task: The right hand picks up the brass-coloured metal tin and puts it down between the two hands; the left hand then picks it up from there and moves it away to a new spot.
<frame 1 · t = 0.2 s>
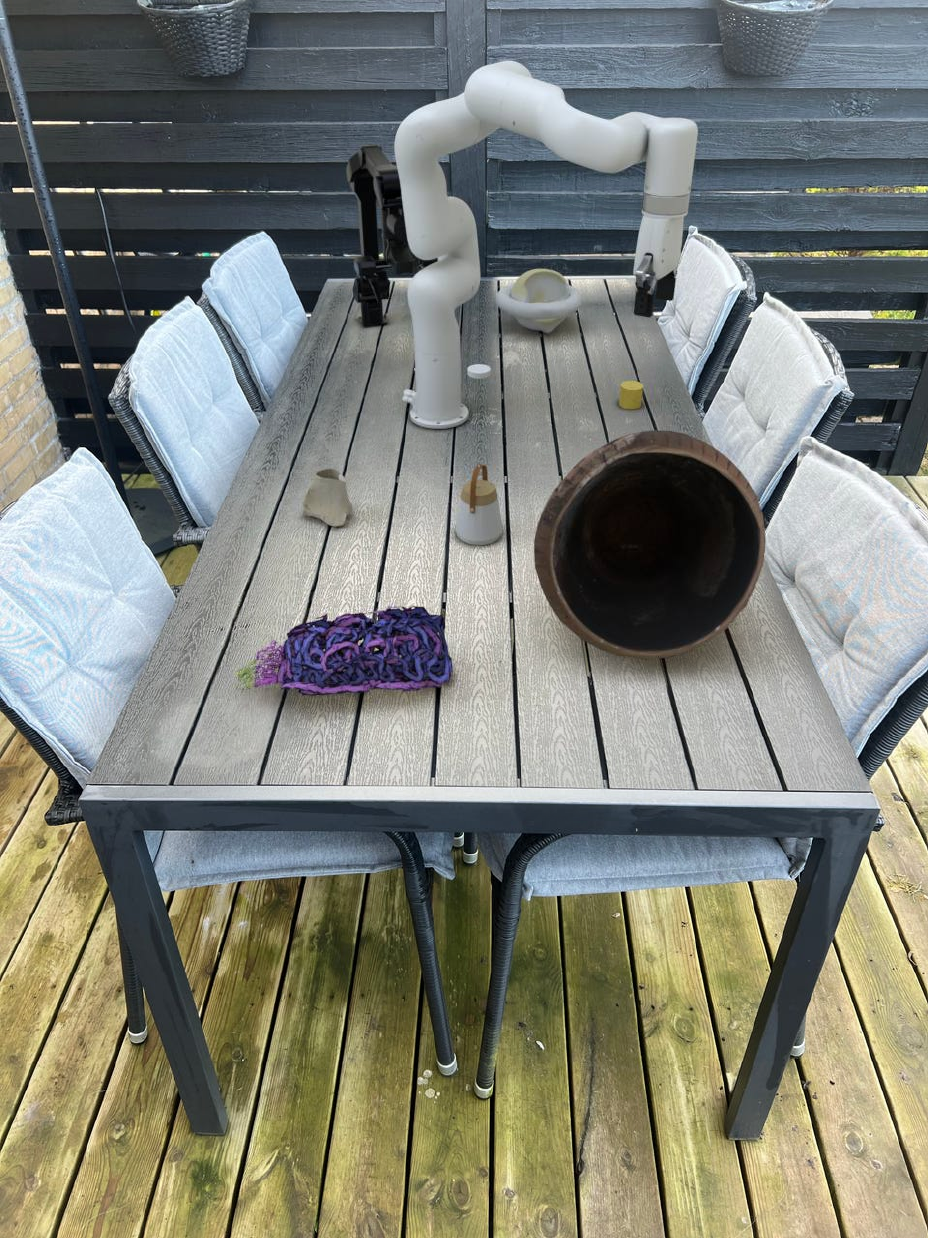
left hand: (398, 300, 216), 14 cm above the table, tool pointing down, fingers open, 9 cm apart
right hand: (653, 307, 163), 31 cm above the table, tool pointing down, fingers open, 9 cm apart
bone: (327, 519, 167), on the table
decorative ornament: (347, 685, 131), on the table
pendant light: (478, 533, 163), on the table
tin: (629, 404, 204), on the table
pot: (635, 608, 145), on the table
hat: (537, 329, 241), on the table
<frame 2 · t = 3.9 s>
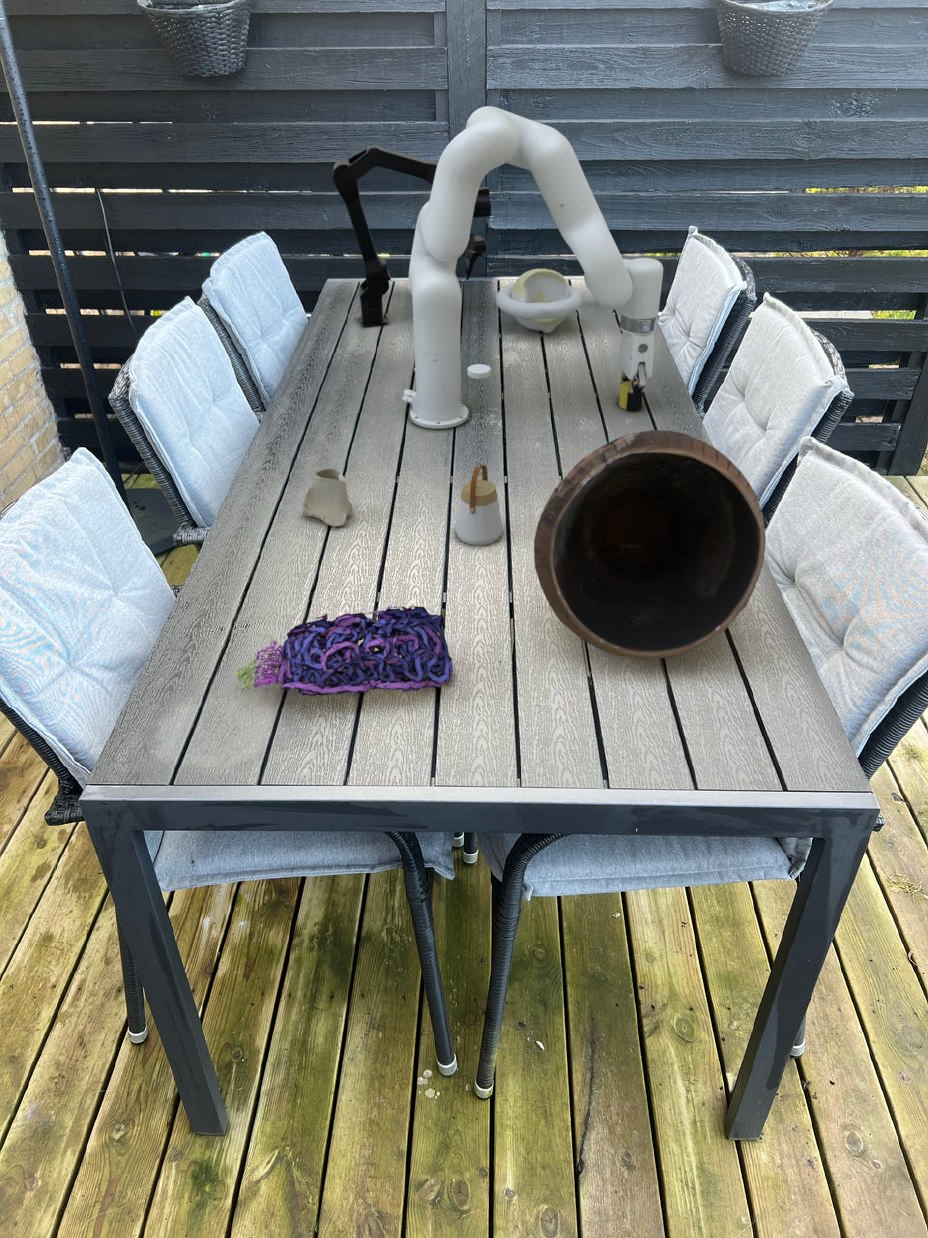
left hand: (450, 281, 242), 10 cm above the table, tool pointing down, fingers open, 9 cm apart
right hand: (630, 403, 204), 0 cm above the table, tool pointing down, fingers closed on tin, 4 cm apart
tin: (629, 404, 204), on the table, touching right hand
everything else where it was.
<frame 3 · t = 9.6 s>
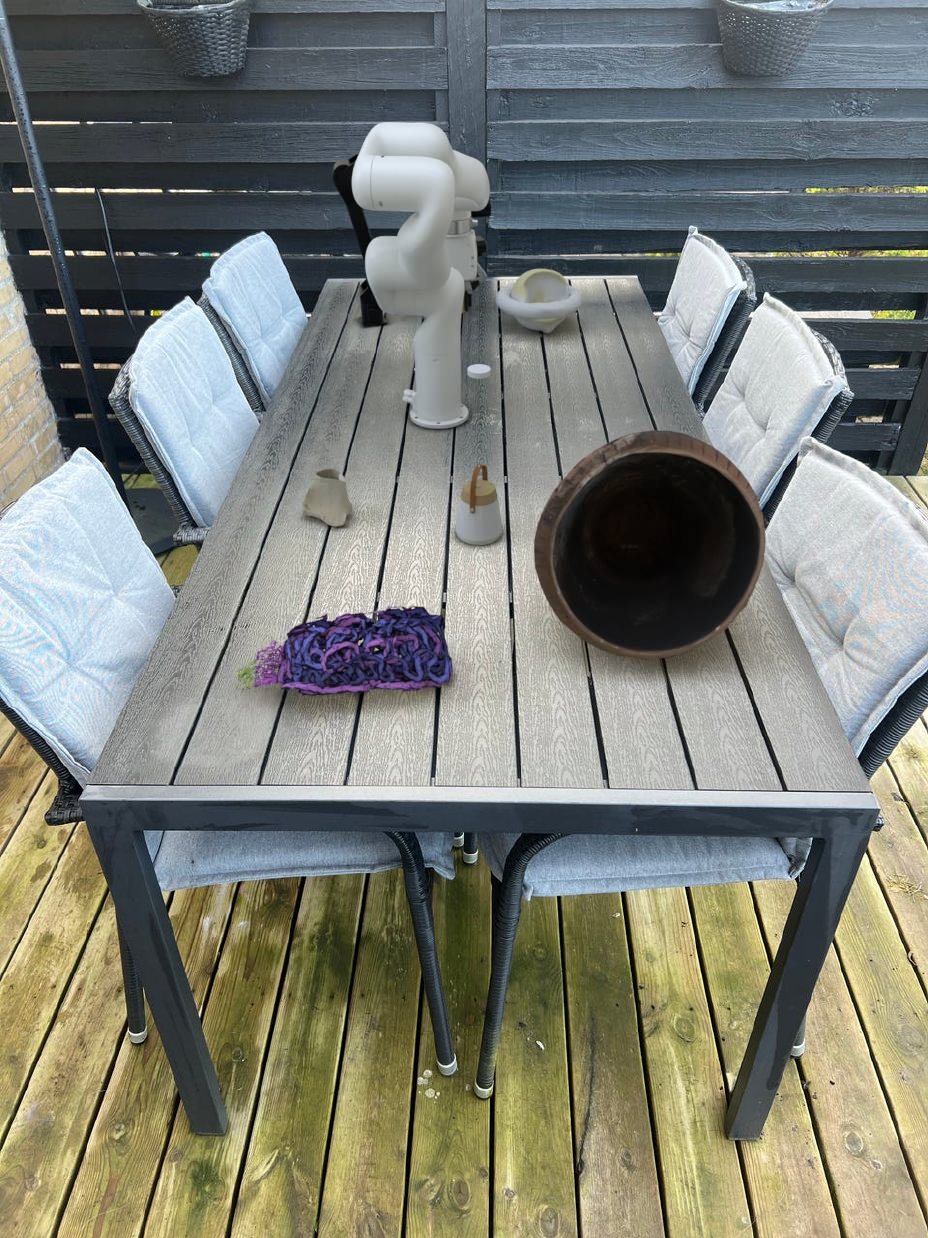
left hand: (450, 281, 242), 10 cm above the table, tool pointing down, fingers open, 9 cm apart
right hand: (454, 308, 210), 15 cm above the table, tool pointing down, fingers closed on tin, 4 cm apart
tin: (455, 310, 211), point 15 cm above the table, touching right hand
everything else where it was.
when the right hand's fingers open (1 cm above the table, at t = 15.2 s): tin stays where it is, on the table.
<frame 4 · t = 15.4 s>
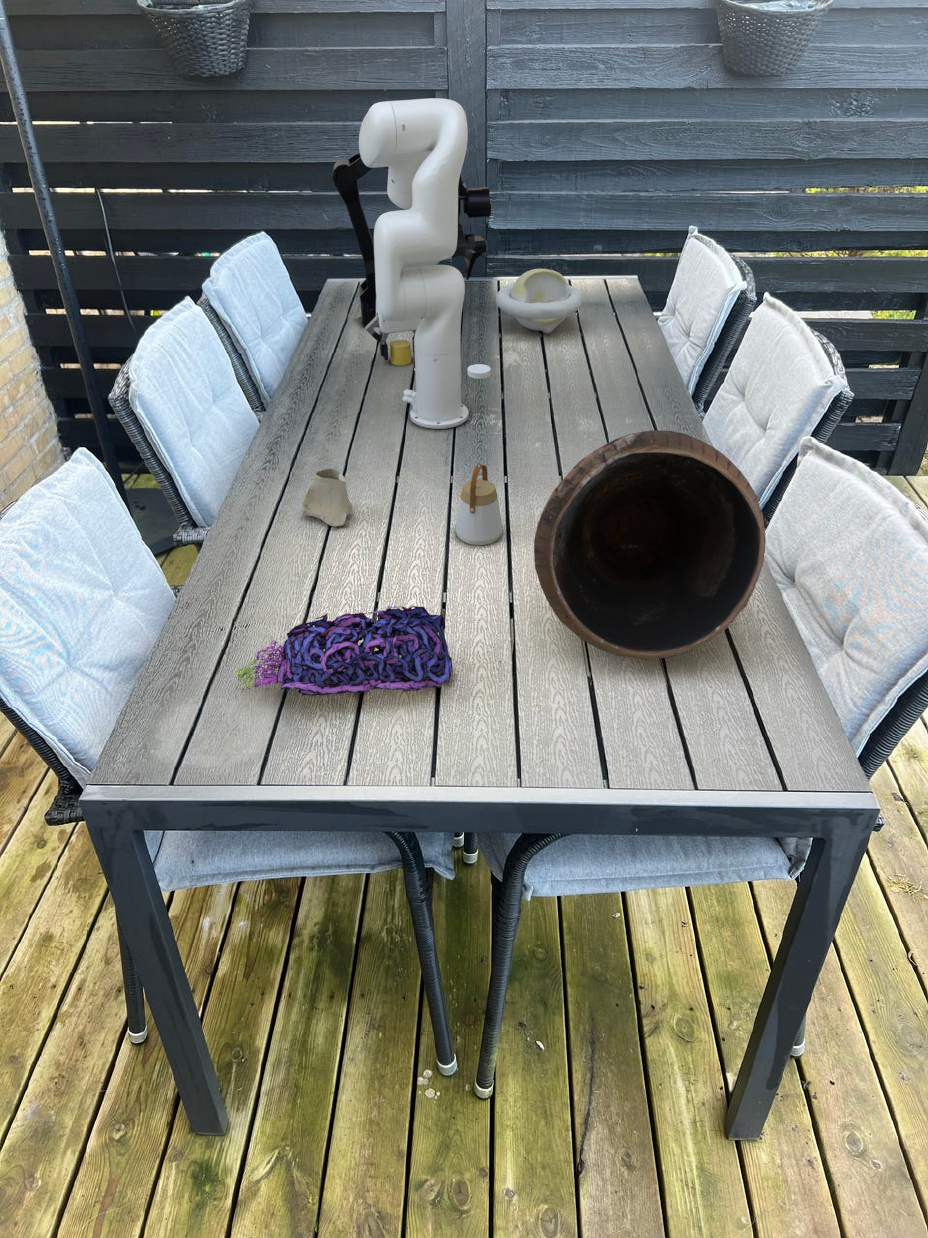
left hand: (450, 281, 242), 10 cm above the table, tool pointing down, fingers open, 9 cm apart
right hand: (400, 355, 224), 1 cm above the table, tool pointing down, fingers open, 7 cm apart
tin: (401, 361, 225), on the table
everything else where it was.
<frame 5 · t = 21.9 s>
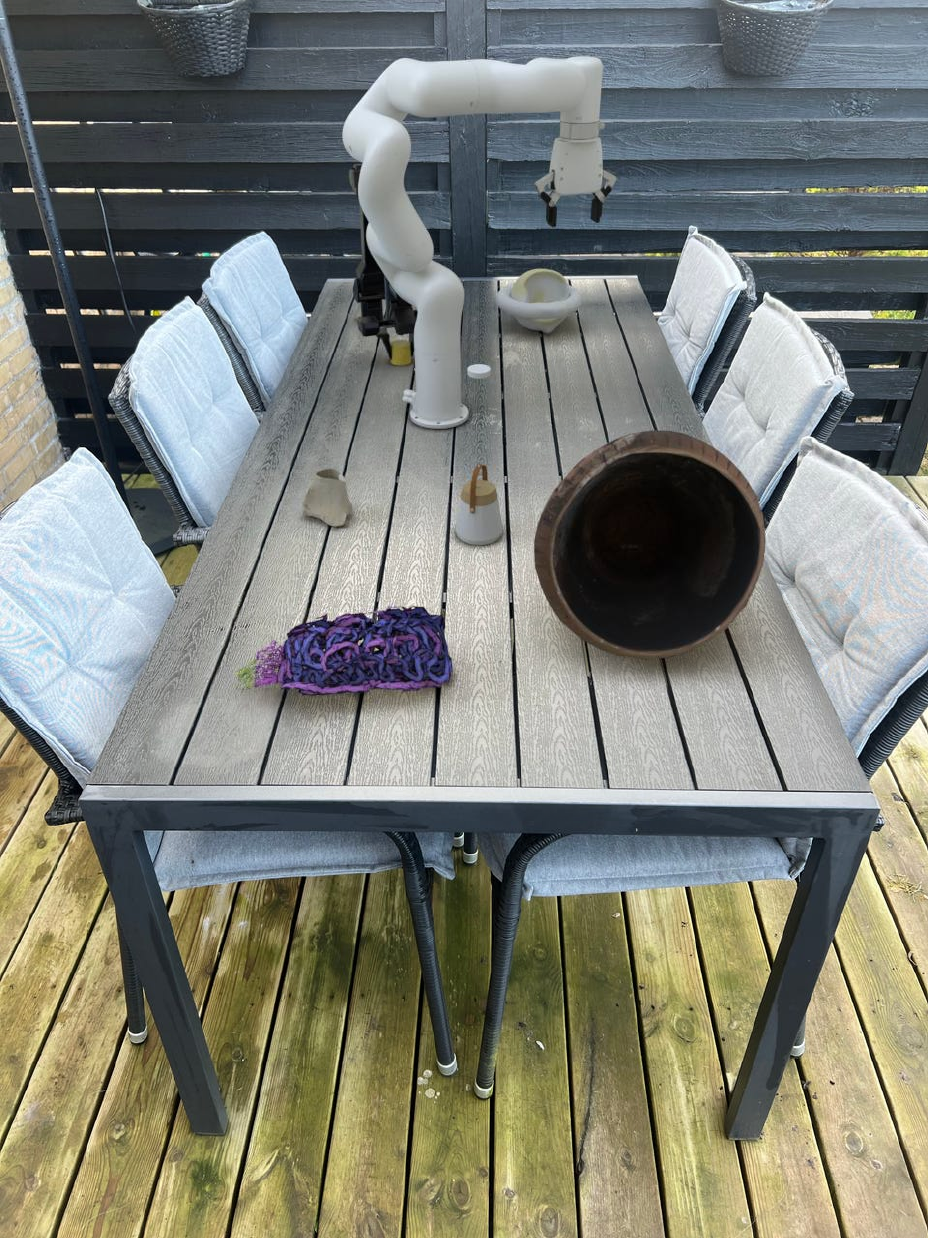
left hand: (400, 357, 224), 1 cm above the table, tool pointing down, fingers closed on tin, 5 cm apart
right hand: (573, 223, 191), 35 cm above the table, tool pointing down, fingers open, 9 cm apart
tin: (401, 361, 225), on the table, touching left hand
everything else where it was.
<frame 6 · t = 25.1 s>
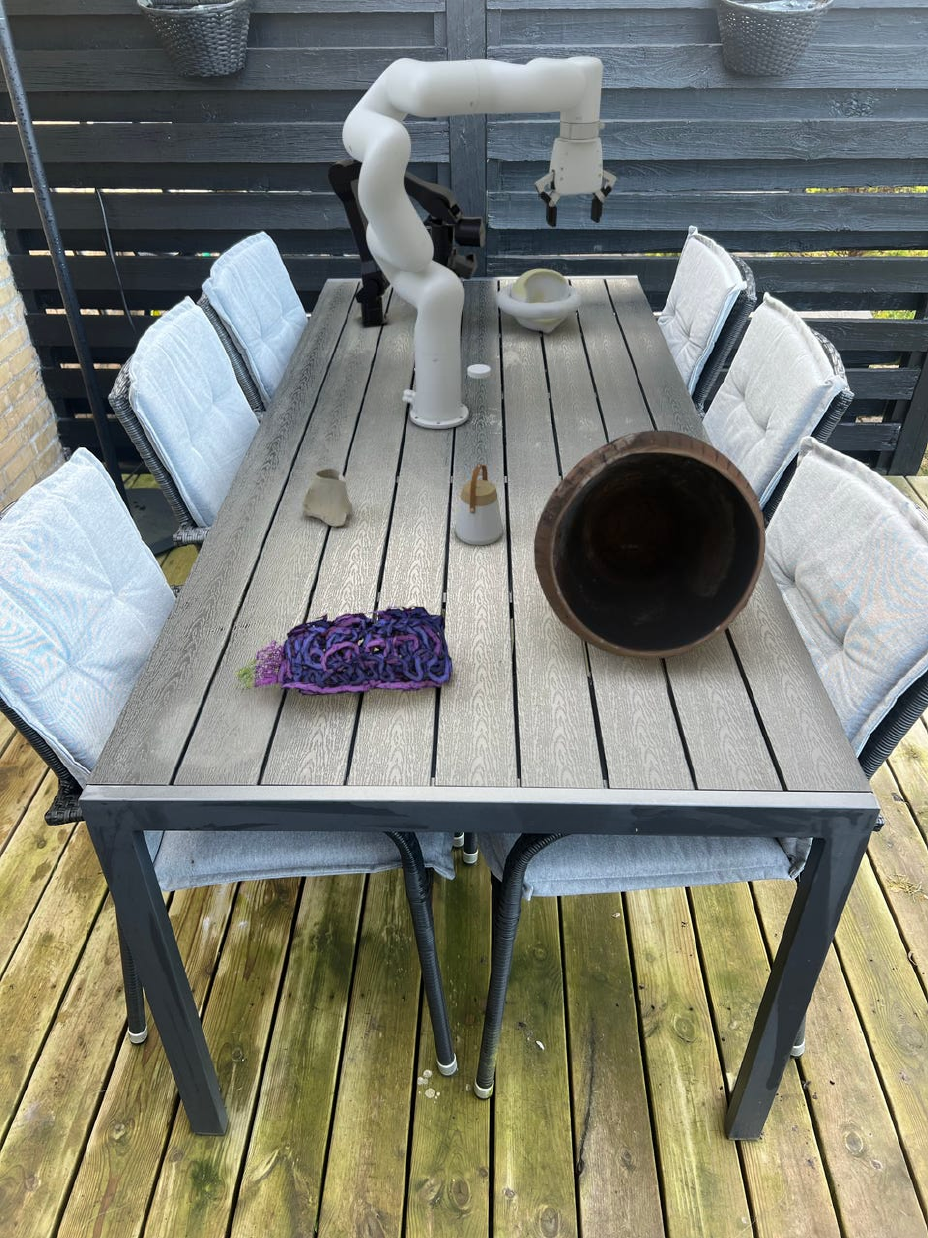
left hand: (444, 307, 239), 5 cm above the table, tool pointing down, fingers closed on tin, 5 cm apart
right hand: (573, 223, 191), 35 cm above the table, tool pointing down, fingers open, 9 cm apart
tin: (444, 311, 240), point 4 cm above the table, touching left hand
everything else where it was.
when the left hand's fingers open (2 cm above the table, at t = 28.6 s): tin stays where it is, on the table.
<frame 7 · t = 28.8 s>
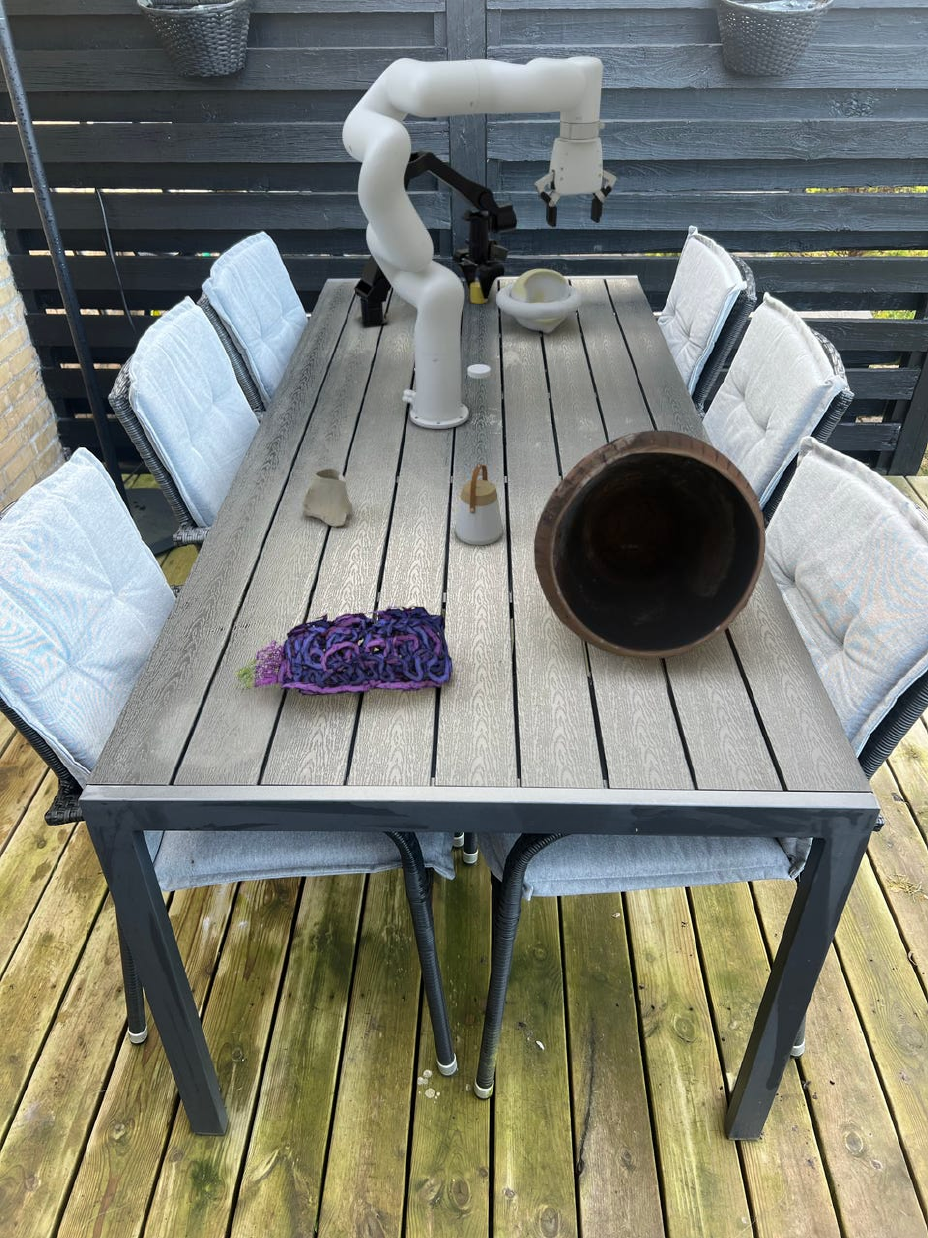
left hand: (478, 294, 258), 2 cm above the table, tool pointing down, fingers open, 7 cm apart
right hand: (573, 223, 191), 35 cm above the table, tool pointing down, fingers open, 9 cm apart
tin: (479, 300, 259), on the table
everything else where it was.
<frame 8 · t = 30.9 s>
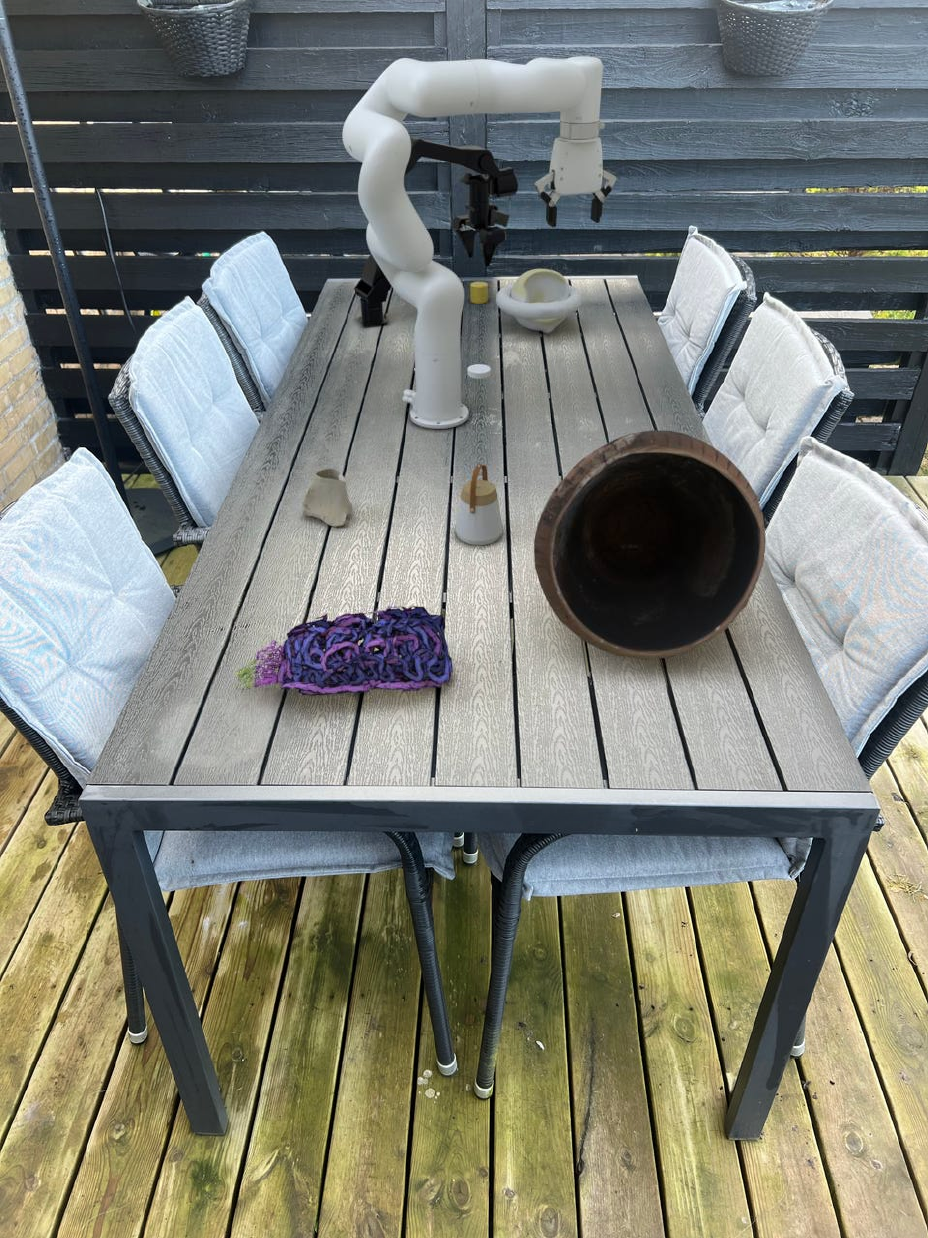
left hand: (479, 261, 252), 11 cm above the table, tool pointing down, fingers open, 9 cm apart
right hand: (573, 223, 191), 35 cm above the table, tool pointing down, fingers open, 9 cm apart
nothing on the table moved.
at the end: tin inside the target area (0.0 cm from its centre), on the table; tin tilted 0°; the two hands never held the tin at the same time; the left hand is holding nothing; the right hand is holding nothing; tin at rest at the end (0.0 cm/s) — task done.
